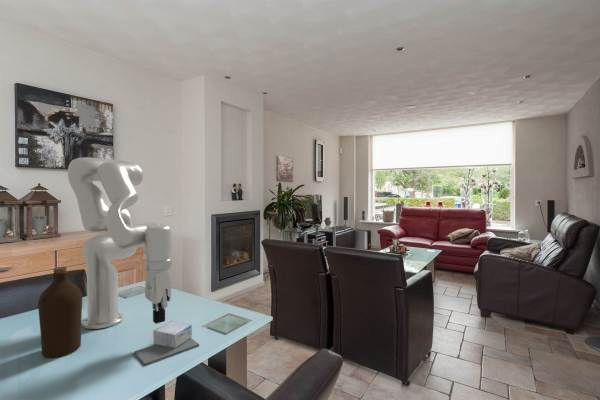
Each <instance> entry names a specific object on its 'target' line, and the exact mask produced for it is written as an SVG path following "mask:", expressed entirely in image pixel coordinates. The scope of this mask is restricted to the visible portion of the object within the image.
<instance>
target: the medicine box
mask: <svg viewBox="0 0 600 400" xmlns="http://www.w3.org/2000/svg"><path fill="white" fill-rule="evenodd" d="M152 332H153V334H152V338H153V340H152V341H153V345H155V344H157V345H162V346H166V347H171V348H176V347H178V346H179V345H181V344H182V343H184V342H185V341H187V340H188V339H190V338H192V337H193V325H192V324H190V323H186V322H180V321H175V320H170V321H168V322H167V323H164V324H163V325H161V326H159V327H157V328H155V329H154V330H152Z"/></svg>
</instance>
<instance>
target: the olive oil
mask: <svg viewBox="0 0 600 400" xmlns="http://www.w3.org/2000/svg"><path fill="white" fill-rule="evenodd" d="M67 269H68V268H67V266H57V267H54V268H53V273H52V275H53V280H52V282H51V283H50V285H48V287H46V288H45V289H44V290H43V292H41V294H40V296H39V298H38V301H37V308H38V317H39V328H40V329H39V330H40V343H41V344H40V345H41V356H42V357H44V358H48V359H52V358H53V359H54V358H55V357H56V358H61V357H64V355H65V356H68V355H70V354H72V352H73V353H75V352H77V351H78V350H79V349H80V348H81V346H82V318H83V317H82V312H83V294H82V291H81V289H80V287H78V286H77V285H76V284H74V283H73V282H72V281H70V280H69V279H68V270H67ZM79 347H80V348H79ZM78 348H79V349H78ZM77 349H78V350H77ZM74 351H75V352H74ZM69 353H70V354H69ZM67 354H68V355H67ZM60 356H61V357H60Z"/></svg>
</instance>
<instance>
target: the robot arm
mask: <svg viewBox="0 0 600 400" xmlns="http://www.w3.org/2000/svg"><path fill="white" fill-rule="evenodd" d="M67 178H68V183H69V185H70V187H71V189H72V192H73V193H74V195H75V197H76V200H77V205H78V210H79V214H80V219H81V224H82V226H83V229H84V230H85V231H86V232H87V233H90V234H96V233H98V234H99V233H106V232H108V233H109V234H103V235H96V236H93V237H92V236H91V237H90V238H88V239H87V240H86V241H84V244H83V246H82V253H83V258H84V262H85V267H86V286H87V288H86V291H87V293H86V295H87V297H86V298H87V302H86V303H87V318H85V319H84V320H82V327H83V328H85V329H86V330H87V329H88V330H101V329H105V328H110V327H112V326H116V325H117V324H119V323H120V322H122V321H123V320H124V315H123V313H121V312H119V276H118V275H119V274H118V269H117V268H116V266H114V264H113V263H112V261H115V260H120V259H125V258H129V257H131V256H133V255H135V254H136V252H137V249H138V248H141V247H142V248H143V247H144V248H145V249H144V252H145V258H144V259H145V262H144V263H145V271H146V272H145V281H144V282H145V283H144V285H145V287H144V297H145V298H146V299H147V300H148V301H149V302H150V303H152V304H151V305H152V322H153V323H154V324H155V325H156V324H157V325H158V324H160V323H164V322H165V321H166V308H167V307H168V306H169V305H168V302H170V301H171V299H172V282H171V281H172V280H171V279H172V278H171V270H172V228H171V227H170V226H169V225H163V224H157V223H154V222H144V223H134V224H133V221H132V220H133V219H132V217H131V213H130V212H129V210H128V209H129V208H130V207H132V206H133V205H134V204H135V203H137V202H138V199H139V193H138V192H137V190H136V189H135V186H139V185H140V184H142V182H143V179H144V172H143V170H142V168H141V167H140V166H139V165H138V164H137V163H134V162H129V161H124V160H120V159H113V158H112V159H111V158H101V157H100V158H99V157H87V156H85V157H77V158H75V159H72V160H71V161H70V163H69V164H68V167H67ZM94 182H100V183H101V185H102V187H103V189H104V191H105V193H106V196H107V197H108V199H109V201H110V203H111V204H110V205H108V204H107V201H106V198H105V195H104V192H103V191H102V190H101V189H100V187H99V186H97V185H96V184H95V183H94Z"/></svg>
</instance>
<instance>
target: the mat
mask: <svg viewBox="0 0 600 400" xmlns="http://www.w3.org/2000/svg"><path fill="white" fill-rule="evenodd" d="M199 346H200V343H198V342H197V341H196V340H194V339H193V338H192V337H191V338H190V339H188V340H187V341H185V342H184V343H182V344H181V345H179V346H178V347H176V348H171V347H166V346H162V345H157V344H152V345H150V346H147V347H144V348H140V349H137V350H134V353H133V354H134V355H135V356H136V357H137V358H138V360H139V361H141V363H142V364H143V365H144V366H148V365H151V364H154V363H156V362H160V361H161V360H165V359H167V358H170V357H173V356H175V355H178V354H181V353H184V352H186V351H190V350H191V349H192V350H193V349H195V348H197V347H199Z"/></svg>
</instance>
